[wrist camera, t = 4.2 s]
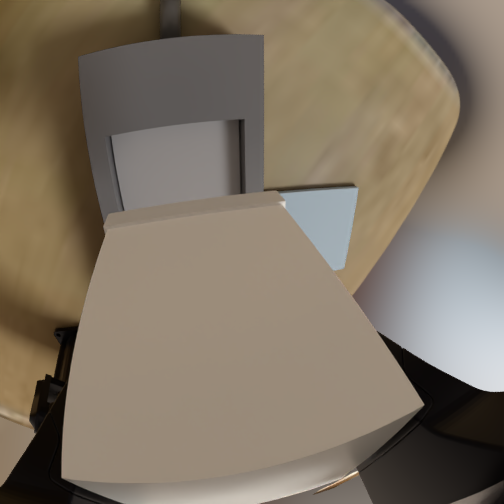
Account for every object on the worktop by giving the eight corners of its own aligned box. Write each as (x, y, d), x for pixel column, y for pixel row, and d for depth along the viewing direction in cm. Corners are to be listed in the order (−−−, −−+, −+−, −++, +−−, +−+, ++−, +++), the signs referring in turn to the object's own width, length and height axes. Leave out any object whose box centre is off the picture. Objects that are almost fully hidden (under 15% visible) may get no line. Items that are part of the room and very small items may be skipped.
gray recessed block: (153, 326, 25) (154, 372, 21) (98, 7, 11) (73, -15, 6) (249, 311, 27) (264, 355, 23) (244, -8, 12) (268, -35, 8)
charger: (146, 331, 10) (161, 515, 5) (108, 214, 8) (51, 475, 2) (272, 310, 11) (344, 477, 6) (276, 190, 9) (432, 398, 3)
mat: (259, 280, 25) (261, 283, 25) (260, 193, 21) (262, 195, 20) (341, 266, 27) (343, 268, 26) (355, 185, 22) (358, 187, 22)
